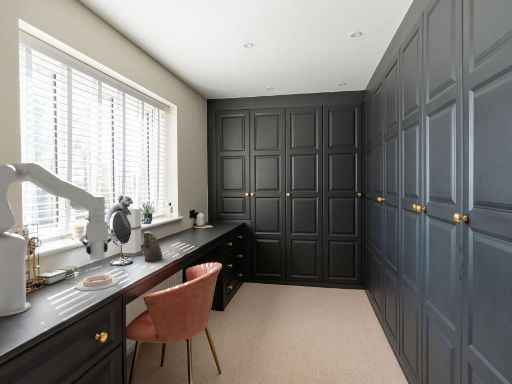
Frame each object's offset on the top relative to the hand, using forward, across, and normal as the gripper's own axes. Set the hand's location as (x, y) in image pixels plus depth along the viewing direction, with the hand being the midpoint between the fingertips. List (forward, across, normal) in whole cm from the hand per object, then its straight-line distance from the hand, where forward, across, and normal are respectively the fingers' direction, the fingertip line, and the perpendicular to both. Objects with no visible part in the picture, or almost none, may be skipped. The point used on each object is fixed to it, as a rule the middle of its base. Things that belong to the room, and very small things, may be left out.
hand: (97, 252), depth 156 cm
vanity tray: (+17, 0, 0) cm, 17 cm away
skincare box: (+4, 0, 0) cm, 4 cm away
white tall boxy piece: (+17, +40, +59) cm, 73 cm away
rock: (+17, +44, +30) cm, 56 cm away
